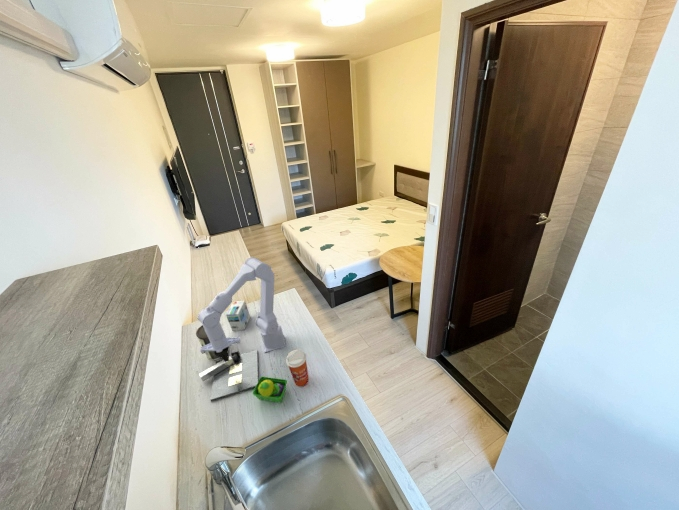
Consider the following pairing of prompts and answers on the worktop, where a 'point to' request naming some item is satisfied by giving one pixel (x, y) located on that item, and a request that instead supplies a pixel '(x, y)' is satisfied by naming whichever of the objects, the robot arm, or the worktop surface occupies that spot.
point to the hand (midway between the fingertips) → (227, 359)
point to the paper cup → (298, 367)
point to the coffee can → (204, 341)
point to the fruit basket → (270, 389)
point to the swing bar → (218, 368)
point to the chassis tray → (236, 376)
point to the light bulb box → (238, 315)
